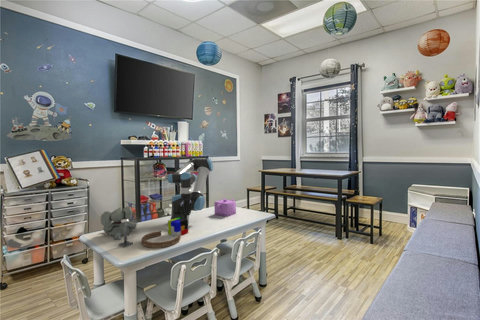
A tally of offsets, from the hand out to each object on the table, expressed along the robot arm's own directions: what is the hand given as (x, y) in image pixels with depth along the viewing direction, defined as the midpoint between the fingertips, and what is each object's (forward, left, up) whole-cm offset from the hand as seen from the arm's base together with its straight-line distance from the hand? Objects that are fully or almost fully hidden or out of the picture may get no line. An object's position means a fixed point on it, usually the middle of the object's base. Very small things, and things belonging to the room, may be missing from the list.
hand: (186, 223), depth 196 cm
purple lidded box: (+3, +54, -5) cm, 54 cm away
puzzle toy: (0, -10, -5) cm, 11 cm away
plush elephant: (-38, -29, -5) cm, 48 cm away
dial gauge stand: (-15, -41, -5) cm, 44 cm away
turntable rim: (0, -29, -4) cm, 29 cm away
